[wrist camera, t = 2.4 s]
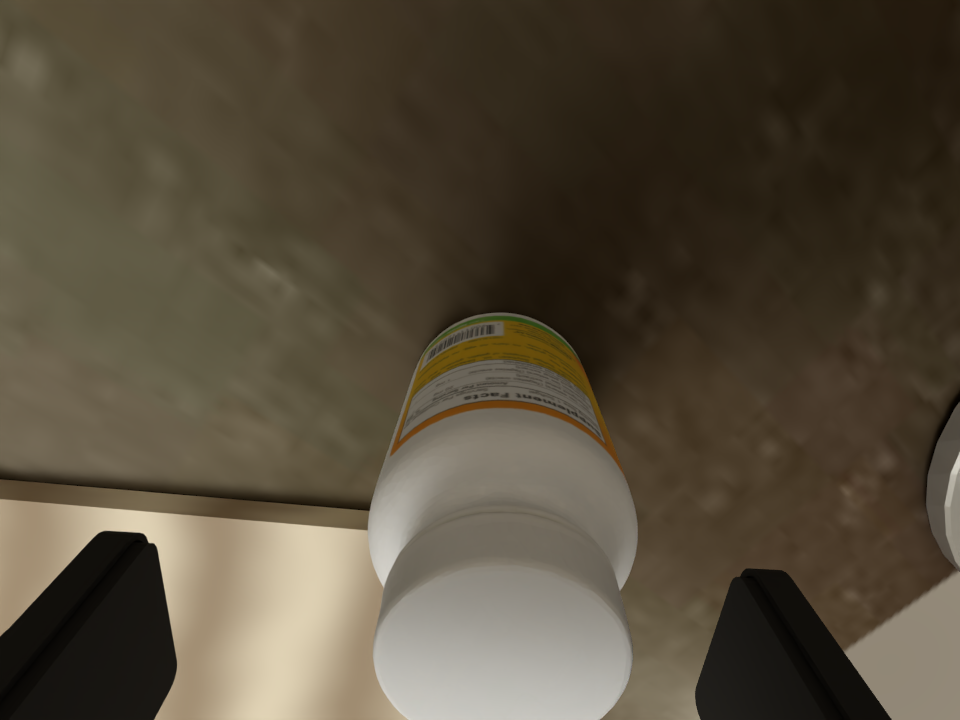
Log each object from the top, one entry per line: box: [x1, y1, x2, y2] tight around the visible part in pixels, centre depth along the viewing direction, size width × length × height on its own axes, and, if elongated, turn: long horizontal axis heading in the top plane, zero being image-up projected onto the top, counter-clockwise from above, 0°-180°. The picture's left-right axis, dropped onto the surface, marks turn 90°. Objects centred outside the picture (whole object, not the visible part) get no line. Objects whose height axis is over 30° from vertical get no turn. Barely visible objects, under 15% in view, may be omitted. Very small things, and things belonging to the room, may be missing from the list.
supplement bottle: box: [368, 313, 638, 720], centre depth 13 cm, size 5×5×10 cm
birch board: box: [0, 479, 408, 720], centre depth 22 cm, size 16×16×1 cm
